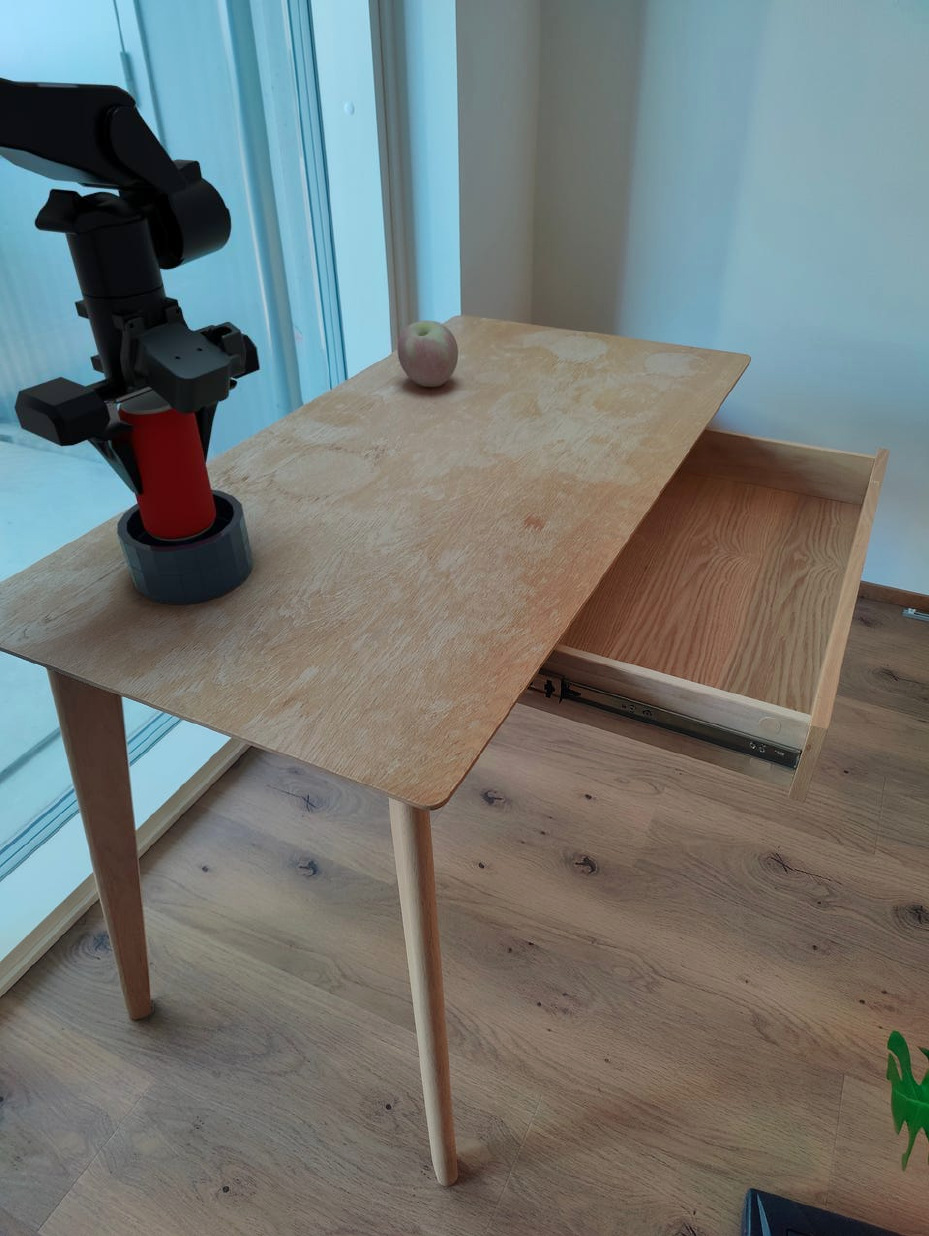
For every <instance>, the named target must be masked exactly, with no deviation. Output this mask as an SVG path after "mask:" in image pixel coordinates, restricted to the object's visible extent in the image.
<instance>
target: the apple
mask: <svg viewBox="0 0 929 1236" xmlns="http://www.w3.org/2000/svg"><path fill="white" fill-rule="evenodd" d="M397 358H398V362H399V364H400V366H401V368H402V370H403V372H404V373H405V375H406V376H407V377H408V378H409V379H410V380H411V381H413V382H414V383H416V384H417V385H419V386H422V387H424V388H438V387H440V386H442V385H444V384H445V383H446V382H447V381H448V380H449V379H450V378H451V377H452V376H453V375H454V373H455V370H456V368H457V365H458V360H459V346H458V343H457V339H456V338H455V336H454V334H453V333H452V331H451V330H450V329H449V328H448V327H447V326H445V324H443V323H441V322H439V321H436V320H419V321H416V322H412V323H410V324H409V325H407V326H406V327H405V328H404V329H403V330H402V332H401V334H400V336H399V338H398V344H397Z"/></svg>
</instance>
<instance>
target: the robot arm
mask: <svg viewBox="0 0 929 1236" xmlns="http://www.w3.org/2000/svg"><path fill="white" fill-rule="evenodd" d="M136 105H137V103H136V100H135V98H134V96H132V94H131V93H130V92H128V90H125V89H123V88H122V87H120V86H119V85H115V84H113V85H112V84H100V83H99V84H98V83H97V84H96V83H78V82H77V83H76V82H52V81H51V82H50V81H24V80H22V81H21V80H20V81H18V80H11V79H8V78H4V77H0V156H1V157H2V158H4V159H5V160H7V161H8V162H10V163H11V164H12V165H14V166H16V167H18V168H21V169H24V170H27V171H28V172H31V173H33V174H37V175H40V176H41V177H44V178H47V179H49V180H52V181H58V182H59V181H60V182H69V183H71V182H72V183H77V185H79V186H82V187H83V188H93V189H103V190H113V191H118V195H117V194H115V193H113V192H108V191H96V192H92V193H88V194H85V195H81V194H80V193H79V192H78V191H76V190H71V189H60V188H51V189H50V190H49V193H48V198H47V199H46V200H47V201H46V202H45V203H44V205H43V206H42V207H41V208H40V209H39V211H38V213H37V215H36V217H35V218H34V226H35V228H36V229H37V230H39V231H42V232H43V231H44V232H52V233H60V234H64V235H65V238H66V242H67V245H68V249H69V253H70V257H71V260H72V263H73V268H74V271H75V274H76V279H77V282H78V285H79V288H80V292H81V297H82V299H81V300H77V301H74V305H75V309H76V313H77V316H78V317H80V318H83V319H87V320H88V321H89V326H90V329H91V332H92V337H93V339H94V343H95V347H96V350H97V354H95V355H93V356H89V358H90V359H89V360H90V362H91V365H92V370H93V371H95V372H98V373H100V374H103V375H104V379H101V380H99V381H96V382H94V383H91V384H88V385H83V384H81V383H78V382H75V381H73V380H70V379H68V378H66V377H63V376H59V377H56V378H53V379H50V380H47V381H45V382H42V383H39V384H36V385H33V386H30V387H26V388H25V389H22V390H21V389H20V390H19V391H18V393H17V396H16V400H15V404H14V407H13V408H14V411H15V414H16V417H17V419H18V422H19V425H20V428H21V429H22V430H24V431H27V432H29V433H31V434H33V435H35V436H37V437H40V438H41V439H44V440H46V441H49V442H50V443H53V444H55V445H56V446H59V447H71V446H75V445H79V444H80V443H83V442H85V441H87V442H88V443H89V444H90V445H91V446H92V447H93V448H94V449H96V451H97V452H98V453H99V454H100V456H101V457H103V459H104V460H105V461H106V462H107V463H108V465H109V466H110V467H111V468H112V470H113V471H114V472H115V474H117V476H118V477H119V478H120V479H121V481H122V482H123V483H124V484H125V485H126V486H127V488H128V489H129V490H130V491H131V492H132V493H133V494H134V495H135V494H137V495H141V494H143V486H142V480H141V476H140V473H139V469H138V466H137V463H136V460H135V456H134V453H133V450H132V446H131V443H130V437H131V434H132V432H133V429H134V426H133V425H131V424H128V423H126V422H123V421H121V420H120V417H119V413H118V410H119V408H118V405H120V403H122V402H124V401H127V400H129V399H132V398H134V397H137V396H140V395H142V394H145V393H147V392H150V391H155V392H156V393H157V394H158V395H160V396H161V397H162V398H163V399H165V400H166V401H167V402H168V403H169V404H170V406H171V407H172V408H173V409H174V410H176V411H177V412H179V413H183V414H192V413H195V416H196V421H197V426H198V430H199V435H200V440H201V444H202V449H203V453H204V458H205V463H206V464H207V461H208V454H209V448H210V443H211V436H212V432H213V431H212V430H213V425H214V419H215V416H216V411H217V407H218V405H219V403H220V402H223V401H225V400H227V399H228V398H229V396H230V391H232V390H234V389H235V388H236V387H237V385H238V381H237V380H238V379H241V378H243V377H245V376H247V375H250V374H252V373H255V372H258V371H261V370H260V369H261V364H260V359H259V358H260V357H259V351H258V346H257V345H256V344H255V343H254V341H253V339H252V338H251V337H250V336H249V335H247V334H246V333H242V330H241V329H239V328H238V327H237V326H236V325H234V323H232V322H231V321H225V322H222V323H220V324H217V325H214V324H210V325H207V326H204V327H201V328H198V329H196V330H193V329H191V328H189V325H188V324H187V322H186V320H185V317H184V313H183V308H182V307H181V306H180V304H179V301H178V299H177V298H173V297H169V296H167V294H166V288H165V283H164V279H163V274H162V271H161V270H163V271H164V270H165V271H168V270H174V269H176V268H179V267H181V266H184V265H186V264H189V263H191V262H194V261H196V260H199V259H201V258H203V257H206V256H209V255H211V254H214V253H216V252H219V251H220V250H222V249H223V248H225V246H226V245H227V244H228V242H229V240H230V237H231V232H232V216H231V212H230V209H229V208H228V207H227V205H226V203H225V200H224V199H223V197H222V195H221V194H220V192H219V190H218V189H216V188H215V186H214V185H213V183H211V182H209V181H208V180H207V179H205V178H204V177H203V175H202V170H201V169H202V168H201V164H200V161H198V160H191V159H172V158H171V156H170V155H169V153H168V152H167V150H166V149H165V148H164V146H163V144H162V143H161V142H160V141H159V139H158V138H157V136H156V135H155V133H154V132H153V131H152V129H151V128H150V126H149V125H148V123H147V122H146V120H145V118H143V117H142V115H141V113H140V112H139V109H138V108H137V106H136Z"/></svg>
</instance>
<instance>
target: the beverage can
mask: <svg viewBox="0 0 929 1236" xmlns="http://www.w3.org/2000/svg"><path fill="white" fill-rule="evenodd" d="M118 413H119V417H120V420H121V421H123V422H126V423H128V424H131V425H133V426H134V429H133V432H132V434H131V437H130V443H131V446H132V450H133V453H134V456H135V460H136V463H137V466H138V469H139V473H140V476H141V480H142V486H143V494H141V495H137V494H135V493H134V496H135V500H136V504H137V503H138V507H139V510H140V514H141V517H142V521H143V525H144V527H145V529H146V530H147V532H148V533H149V534H150V535H151V536H152V537H154V538H156V539H159V540H164V541H170V542H180V541H186V540H190V539H193V538H195V537H197V536H199V535H201V534H202V533H204V532H205V531H207V530H208V529H209V528H210V527H211V526H212V524H213V523H214V520H215V517H216V509H215V504H214V500H213V495H212V490H211V489H212V486H211V482H210V476H209V472H208V467H207V462H206V463H205V458H204V453H203V449H202V444H201V440H200V435H199V430H198V426H197V421H196V416H195V413H192V414H183V413H179V412H177V411H176V410H174V409H173V408H172V407H171V406H170V404H169V403H168V402H167V401H166V400H165V399H163V398H162V397H161V396H160V395H158V394H157V393H156V392H155V391H150V392H147V393H145V394H142V395H140V396H137V397H134V398H132V399H129V400H127V401H124V402H122V403H119V406H118Z"/></svg>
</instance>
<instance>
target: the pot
mask: <svg viewBox="0 0 929 1236" xmlns="http://www.w3.org/2000/svg"><path fill="white" fill-rule="evenodd" d="M211 490H212V495H213V500H214V504H215V509H216V517H215V520H214V523H213V524H212V526H211V527H210V528H209V529H208V530H207V531H205V532H204V533H202V534H201V535H199V536H197V537H195V538H193V539H190V540H186V541H180V542H170V541H164V540H159V539H156V538H154V537H152V536H151V535H150V534H149V533H148V532H147V530H146V529H145V527H144V525H143V521H142V517H141V514H140V510H139V507H138V503H137V502H136V503H135V504H134V505H133V506H132V507H130V508H129V509H128V510H126V511H125V512H124V513H123V514H122V516H121V517H120V519H119V520H118V522H117V525H116V528H117V529H116V534H117V537H118V540H119V544H120V548H121V551H122V553H123V556H124V560H125V563H126V567H127V570H128V573H129V576H130V580H131V581H132V583H133V586H134V589H135V590H136V591H137V592H138V593H139V595H141V596H142V597H144V598H146V599H148V600H150V601H152V602H156V603H160V604H164V605H165V604H166V605H190V604H191V605H192V604H197V603H198V604H199V603H202V602H206V601H211V600H213V599H216V598H219V597H222V596H224V595H226V594H228V593H229V592H231V591H233V590H234V589H236V588H237V587H239V586H240V585H241V584H242V583H243V582H245V581H246V579H248V577H249V575H250V574H251V571H252V569H253V565H254V559H253V554H252V550H251V549H252V548H251V543H250V539H249V534H248V529H247V524H246V519H245V514H244V509H243V504H242V503H241V502H240V501H239V500H238V499H237V498H236V497H235V496H234V495H232V494H229V493H227V492H225V491H222V490H218V489H212V488H211Z"/></svg>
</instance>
